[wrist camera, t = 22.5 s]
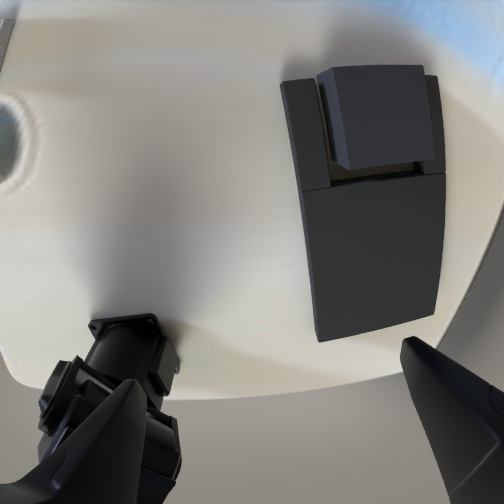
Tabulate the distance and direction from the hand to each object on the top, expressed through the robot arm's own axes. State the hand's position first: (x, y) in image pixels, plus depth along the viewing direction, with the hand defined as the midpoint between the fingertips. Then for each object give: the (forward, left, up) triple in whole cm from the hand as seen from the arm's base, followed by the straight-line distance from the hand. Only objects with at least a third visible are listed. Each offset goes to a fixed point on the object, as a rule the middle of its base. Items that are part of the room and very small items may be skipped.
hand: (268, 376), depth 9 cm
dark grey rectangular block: (+8, +7, -12) cm, 16 cm away
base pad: (+8, 0, -12) cm, 14 cm away
